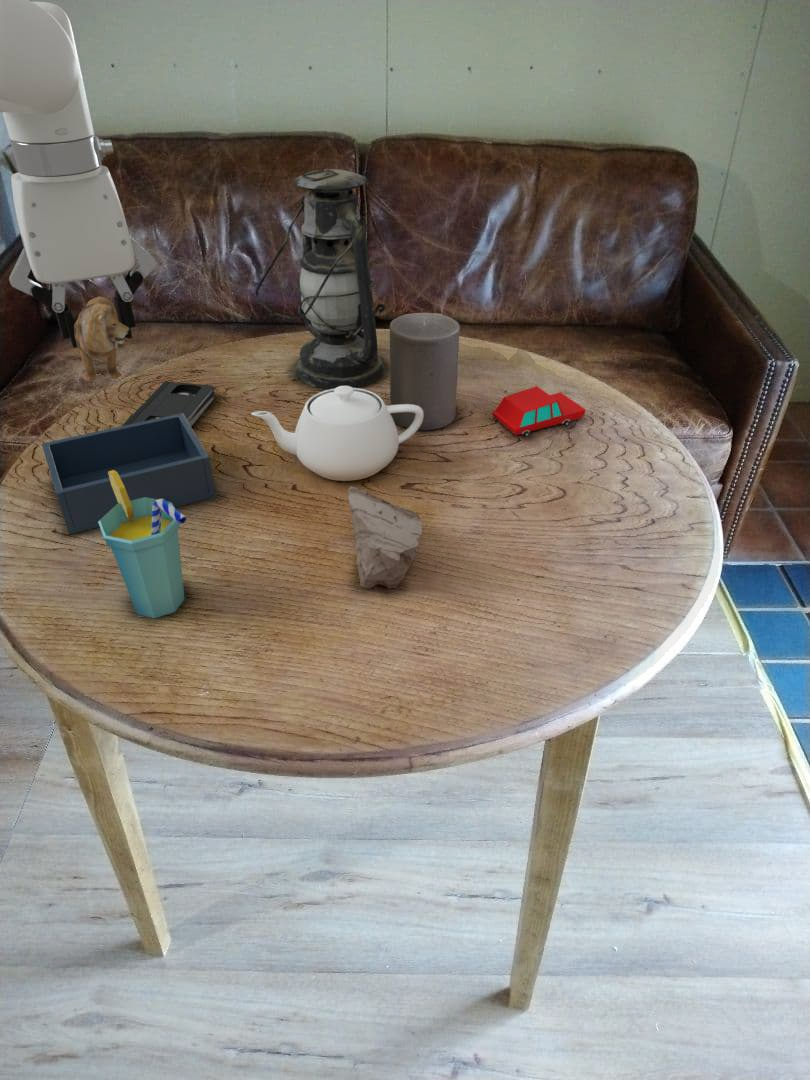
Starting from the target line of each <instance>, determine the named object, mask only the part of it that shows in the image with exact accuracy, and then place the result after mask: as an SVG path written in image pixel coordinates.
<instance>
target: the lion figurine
mask: <svg viewBox="0 0 810 1080" xmlns="http://www.w3.org/2000/svg"><path fill="white" fill-rule="evenodd" d="M74 324H75V325H74V329H75V331H74V335H75V339H76V343H77V346H78V350H79V352H80V354H79V355H80V359H81V360H82V363H83V367H84V369H85V370H84V371H85V374H84V375H83V380H84V381H85V382H88V383H90V382H95V381H96V376H97V373H96V371H95V368H94V365H93V360H95V359H97V360H104V359H106V363H107V364H106V372H107V374H108V375H109V376H108V377H109V378H111V379H114V380H115V379H119V378H120V377H122V373H121V372H120V371H119V370H118V368H117V350H116V349H123V348H124V347H125V345H124V343H125V335H127V333H128V331H129V328H128V327H127V326H125V325H123V324H122V323H120V322H119V320H118V316H117V311H116V307H115V304H114V302H112V301H111V300H110V299H108V298H107V297H106V298H105V297H103V296H97V297H95V298H92V299H90V300H89V301H88V302H86V306H85V307H83V308H82V310H81V311H80V312H79V313H78V317H77V320H76V321H75V323H74Z"/></svg>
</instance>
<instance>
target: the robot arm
mask: <svg viewBox="0 0 810 1080" xmlns="http://www.w3.org/2000/svg"><path fill="white" fill-rule="evenodd" d="M88 102H89V101H88V98H87V94H86V89H85V84H84V79H83V74H82V69H81V64H80V59H79V56H78V51H77V46H76V41H75V37H74V31H73V28H72V23H71V20H70V18H69V16H68V14H67V13H66V11H65V10H64V9H63V8H62V7H61V6H59V5H57V4H56V3H52V2H48V1H47V2H46V1H31V0H0V113H2V116H3V120H4V123H5V124H4V125H5V127H6V131H7V134H8V135H7V136H8V138H9V140H10V146H11V149H12V152H13V157H14V160H15V164H16V167H17V171H18V172H15V173H13V174H12V175H11V190H12V196H13V197H12V199H13V205H14V211H15V216H16V219H17V224H18V225H17V226H18V229H19V233H20V237H21V242H22V246H23V248H22V250H21V252H20V255H19V256H18V259H17V260H16V263H15V264H14V267H13V269H12V271H11V272H10V275H9V278H8V281H9V283H10V286H11V287H13V288H14V289H16V290H17V291H19V292H20V291H21V292H23V293H25V294H27V295H29V296H32V297H33V298H34V299H36V300H38V301H39V302H41V303H42V304H44V305H46V306H47V307H49V308H50V309H52V311H53V312H55V315H56V318H57V322H58V326H59V330H60V333H61V336H62V339H63V340H66V339H67V340H68V339H69V341H70V343H71V346H72V348H73V349H77V348H78V346H77V343H76V339H75V335H74V331H75V329H74V325H75V324H76V323H75V321H74V317H73V313H72V310H71V308H70V306H69V304H68V303H67V301H66V284H67V283H74V282H81V281H86V280H93V279H102V278H106V277H109V278H110V280H111V282H112V284H113V286H114V288H115V291H114V296H113V304H114V307H115V309H116V312H117V316H118V320H119V322H120V323H122V324H123V325H125V326H127V327H128V328H129V331H128V333H127V335H125V337H124V339H125V338H126V339H127V340H129V339H133V334H132V328H135V327H136V326H137V325H136V320H135V316H134V311H133V306H132V302H131V301H132V300H134V299H133V298H134V295H135V293H136V292H137V290H138V289H139V287H140V286H141V285H142V284H143V281H144V280H145V278H147V277H148V276H149V274H151V272H153V270H154V269H155V268H156V267H157V264H158V263H157V261H156V259H155V258H154V257H153V256H152V255H151V254H150V253H149V252H148V251H147V250H146V249H145V248H144V247H143V246H141V245H140V244H139V243H138V242H137V240H135V239H134V238H133V237H132V236H131V235H130V232H129V227H128V225H127V221H126V217H125V213H124V210H123V206H122V203H121V200H120V196H119V194H118V191H117V188H116V184H115V183H114V180H113V177H112V174H111V173H110V170H109V168H108V167H107V166H106V165H103V164H102V161H103V160H104V158H106V157H107V156H113V155H115V151H114V150H115V149H114V146H113V142H112V139H103V138H99V137H98V136H97V135H95V130H94V127H93V126H94V125H93V122H92V117H91V113H90V107H89V103H88ZM136 260H137V263H136V264H135V261H136ZM31 271H32V274H33V277H34V278H35V280H36V281H38V282H35V281H34V280H33V279H30V278H29V275H30V273H31ZM126 273H127V274H126ZM123 274H126V276H125V277H124V275H123ZM41 283H42V284H48V288H47V287H46V286H45V285H42V284H41Z"/></svg>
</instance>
